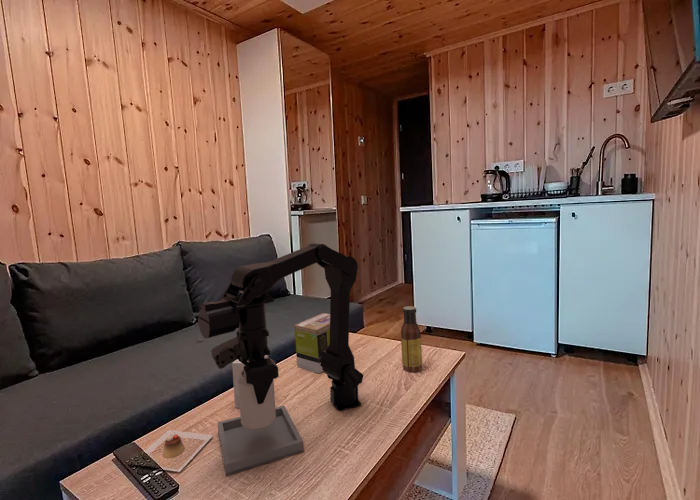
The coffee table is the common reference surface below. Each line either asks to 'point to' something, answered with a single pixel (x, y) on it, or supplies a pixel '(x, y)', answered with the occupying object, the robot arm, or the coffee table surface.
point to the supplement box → (237, 370)
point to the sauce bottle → (411, 341)
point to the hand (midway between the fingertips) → (257, 394)
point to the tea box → (312, 341)
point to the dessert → (177, 445)
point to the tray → (258, 442)
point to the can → (255, 406)
